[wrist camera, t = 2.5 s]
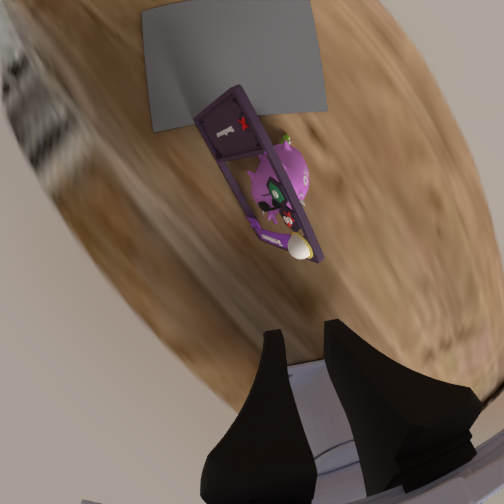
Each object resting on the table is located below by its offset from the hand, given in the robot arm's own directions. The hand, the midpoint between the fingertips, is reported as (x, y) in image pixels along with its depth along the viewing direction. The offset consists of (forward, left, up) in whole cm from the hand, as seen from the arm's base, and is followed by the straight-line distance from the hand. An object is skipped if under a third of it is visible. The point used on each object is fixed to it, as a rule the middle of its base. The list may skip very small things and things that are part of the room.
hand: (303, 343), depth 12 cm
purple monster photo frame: (+6, 0, -10) cm, 11 cm away
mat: (+14, +1, -9) cm, 17 cm away
